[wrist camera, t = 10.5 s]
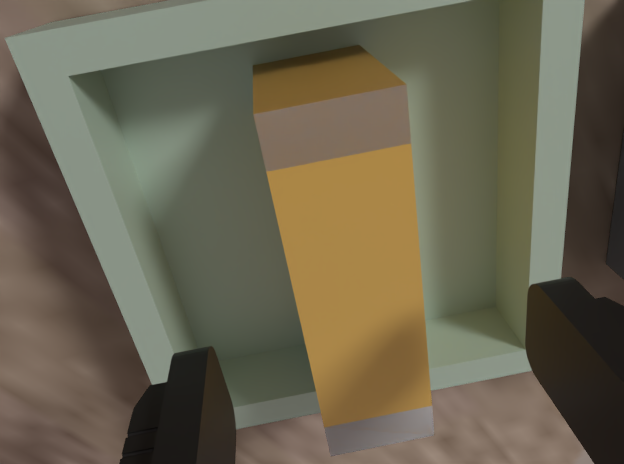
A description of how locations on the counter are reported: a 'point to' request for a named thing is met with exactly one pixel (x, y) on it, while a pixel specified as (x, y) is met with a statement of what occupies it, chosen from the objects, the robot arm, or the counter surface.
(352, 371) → the block
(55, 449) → the counter surface
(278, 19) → the parts tray
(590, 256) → the counter surface
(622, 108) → the counter surface
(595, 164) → the counter surface
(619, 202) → the block
